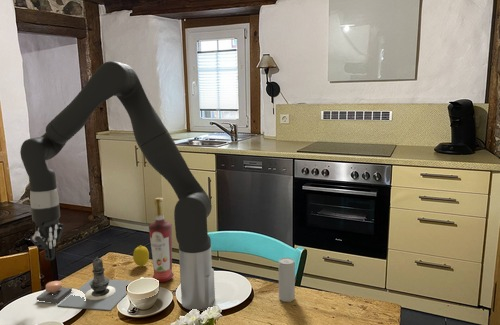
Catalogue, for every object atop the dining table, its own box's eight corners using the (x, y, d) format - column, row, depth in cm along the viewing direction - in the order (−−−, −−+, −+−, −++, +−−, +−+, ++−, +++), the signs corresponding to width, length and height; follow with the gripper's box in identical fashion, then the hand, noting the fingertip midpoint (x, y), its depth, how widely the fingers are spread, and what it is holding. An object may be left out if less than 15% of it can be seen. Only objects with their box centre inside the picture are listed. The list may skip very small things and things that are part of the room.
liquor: (177, 275, 136) (173, 195, 132) (170, 285, 129) (165, 201, 124) (157, 274, 137) (152, 195, 133) (148, 284, 130) (143, 201, 125)
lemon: (147, 269, 141) (146, 248, 140) (132, 269, 141) (130, 248, 140) (151, 263, 147) (150, 242, 145) (136, 263, 147) (135, 242, 145)
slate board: (138, 282, 131) (138, 281, 131) (110, 310, 114) (110, 309, 114) (91, 279, 134) (91, 278, 134) (57, 306, 117) (57, 305, 117)
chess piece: (103, 297, 121) (100, 260, 119) (86, 296, 122) (82, 259, 120) (114, 288, 126) (110, 252, 124) (97, 287, 128) (93, 252, 126)
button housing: (72, 292, 125) (71, 287, 125) (57, 303, 119) (57, 298, 118) (52, 290, 127) (51, 286, 126) (37, 301, 120) (36, 297, 120)
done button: (65, 289, 124) (64, 281, 124) (56, 296, 120) (55, 287, 119) (52, 289, 125) (51, 280, 124) (43, 295, 121) (42, 286, 120)
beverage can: (285, 293, 122) (285, 256, 120) (298, 298, 119) (298, 260, 117) (275, 298, 119) (275, 260, 117) (287, 304, 115) (287, 265, 114)
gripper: (41, 210, 111) (47, 269, 114) (70, 199, 124) (74, 251, 126) (17, 209, 112) (23, 267, 115) (48, 198, 125) (53, 250, 128)
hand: (50, 259), depth 121 cm, fingers closed
